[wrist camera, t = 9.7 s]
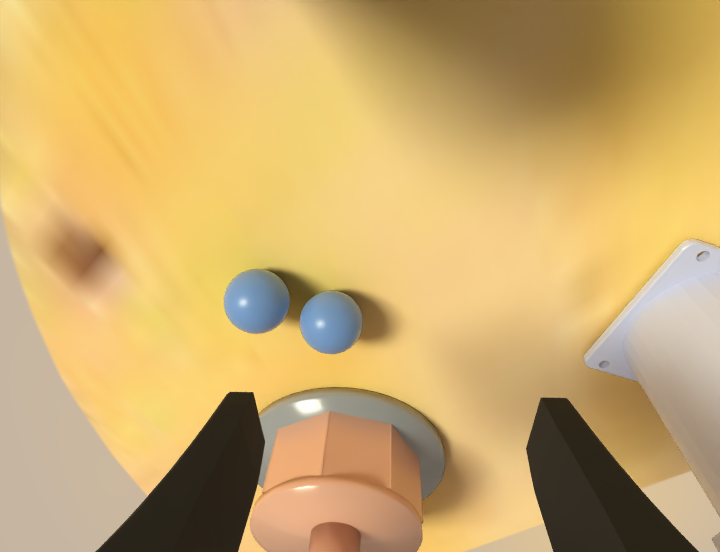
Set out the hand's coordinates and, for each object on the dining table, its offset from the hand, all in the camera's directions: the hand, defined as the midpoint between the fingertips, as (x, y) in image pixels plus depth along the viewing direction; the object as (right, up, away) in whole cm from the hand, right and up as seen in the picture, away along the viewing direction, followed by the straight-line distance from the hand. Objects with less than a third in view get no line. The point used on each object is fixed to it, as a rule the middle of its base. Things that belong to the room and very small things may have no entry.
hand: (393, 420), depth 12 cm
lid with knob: (-2, -8, +17) cm, 19 cm away
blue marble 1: (-6, +3, +11) cm, 12 cm away
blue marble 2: (-2, +2, +11) cm, 12 cm away
